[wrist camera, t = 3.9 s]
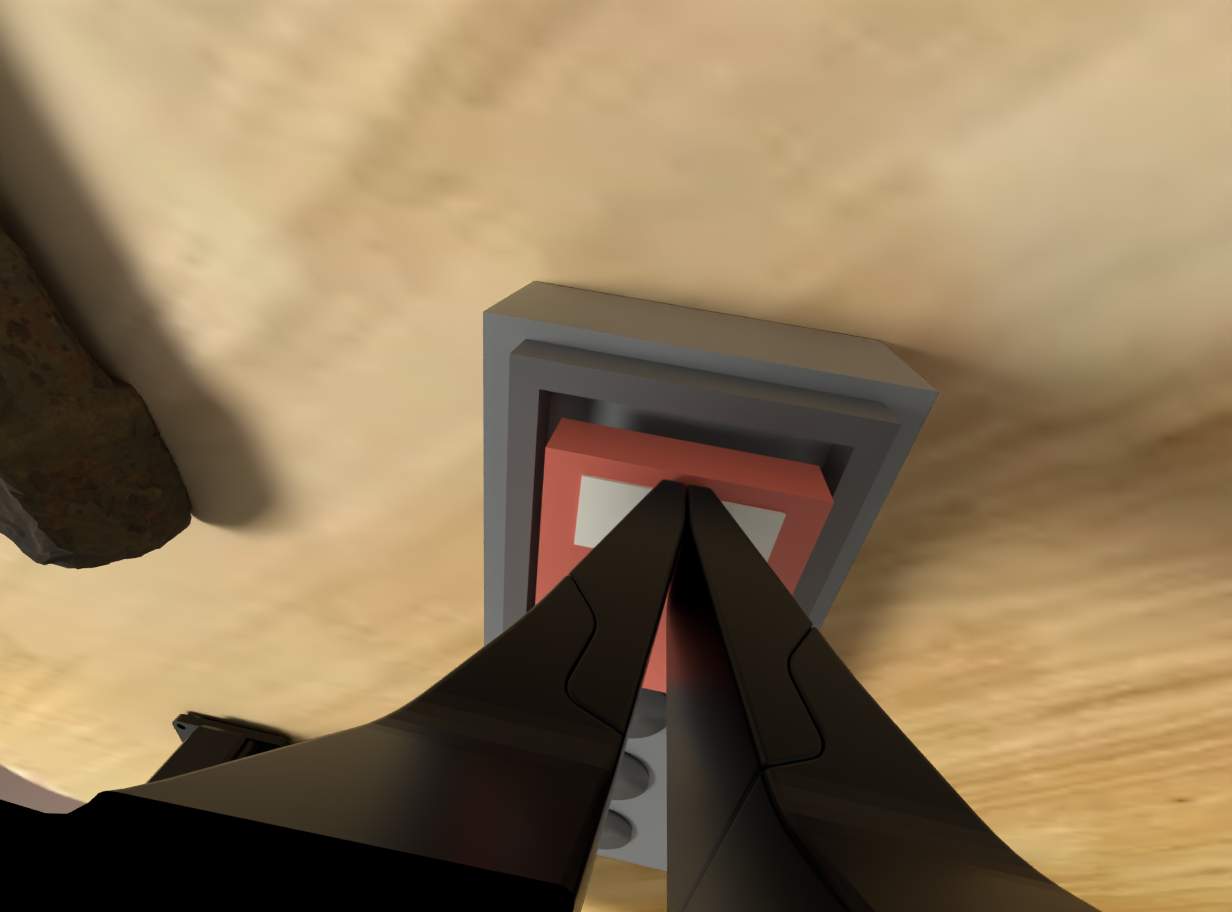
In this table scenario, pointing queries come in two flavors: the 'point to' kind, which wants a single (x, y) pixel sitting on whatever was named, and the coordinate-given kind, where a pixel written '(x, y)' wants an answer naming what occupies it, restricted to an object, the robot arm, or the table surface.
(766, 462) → the red flat block
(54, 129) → the table surface
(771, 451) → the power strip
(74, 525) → the hand tool
